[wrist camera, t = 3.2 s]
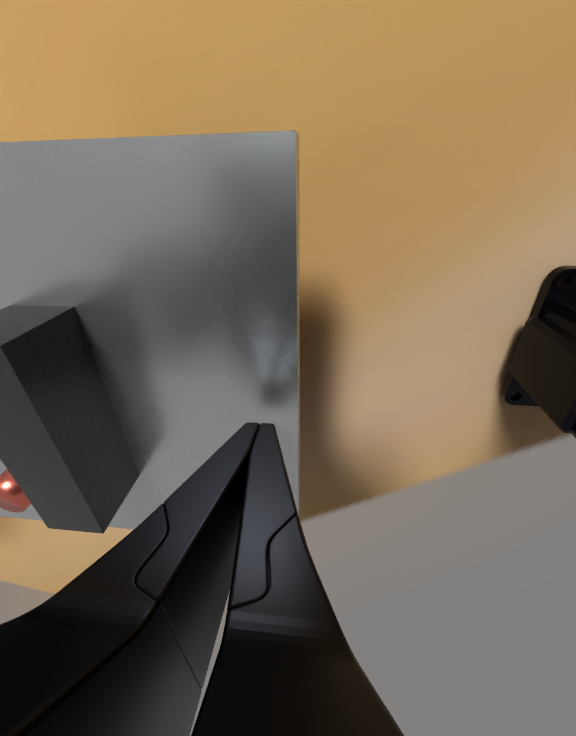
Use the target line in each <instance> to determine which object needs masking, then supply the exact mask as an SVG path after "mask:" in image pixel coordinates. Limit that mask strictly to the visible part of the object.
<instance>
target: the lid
mask: <svg viewBox="0 0 576 736" xmlns="http://www.w3.org/2000/svg"><path fill="white" fill-rule="evenodd" d="M247 422H254V423H259V424H261V423H272V424H274V425H275V428H276V432H277V436H278V440H279V443H280V447H281V451H282V455H283V459H284V462H285V466H286V470H287V474H288V477H289V481H290V485H291V489H292V493H293V496H294V500H295V504H296V508H297V512H298V516H299V519H300V294H299V134H298V133H297V132H296V131H274V132H249V133H224V134H198V135H173V136H148V137H123V138H97V139H72V140H47V141H22V142H0V516H1V517H11V518H22V519H32V520H43V521H44V523H45V524H46V526H47V527H48V528H53V529H63V530H73V531H83V532H93V533H104V532H105V530H106V529H107V527H116V528H127V529H135V528H136V527H137V526H139V525H140V524H141V523H142V522H143V521H144V520H145V519H146V518H147V517H148V516H149V515H150V514H152V513H153V512H154V511H155V510H156V509H157V508H158V507H159V506H160V505H161V504H164V501H165V500H166V499H167V498H168V497H169V496H170V495H171V494H172V493H173V492H174V491H176V490H177V489H178V488H179V487H180V486H181V485H182V484H183V483H184V482H185V481H186V480H187V479H188V478H189V477H190V476H191V475H192V474H193V473H194V472H195V471H196V470H197V469H198V468H199V467H200V466H201V465H202V464H203V463H205V462H206V461H207V460H208V459H209V458H210V457H211V456H212V455H213V454H214V453H215V452H216V451H217V450H218V449H219V448H220V447H221V446H222V445H223V444H224V443H225V442H226V441H227V440H228V439H229V438H230V437H231V436H233V435H234V434H235V433H236V432H237V431H238V430H239V429H240V428H241V427H242V426H243V425H244V424H245V423H247Z"/></svg>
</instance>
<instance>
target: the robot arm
mask: <svg viewBox="0 0 576 736" xmlns="http://www.w3.org/2000/svg"><path fill="white" fill-rule="evenodd" d="M566 275H567V279H566V280H565V282H564V283H562V284H560V285H558V282H559V280H560V279H561V278H562V277H564V276H566ZM508 371H509V373H508V376H507V378H506V381H505V383H504V386H503V388H502V391H501V396H502V398H503V399H504V400H505V402H507V403H508V404H511V405H527V406H540V408H541V409H542V410H543V411H544V412H545V413H546V414H547V415H548V416H549V418H550V419H551V420H552V421H553V422H554V423H555V424H556V425H557V427H558V428H559V429H560V430H561V431H563V432H564V433H572V434H573V436H574V437H575V438H576V266H561V267H558V268H556V269H554V270H553V271H552V272H550V273H549V275H548V276H547V278H546V280H545V282H544V285H543V287H542V290H541V292H540V295H539V297H538V300H537V303H536V305H535V308H534V310H533V313H532V315H531V318H530V319H529V320H528V321H527V322H526V324H525V327H524V329H523V332H522V334H521V337H520V339H519V342H518V345H517V347H516V350H515V352H514V355H513V357H512V360H511V362H510V365H509V367H508ZM515 392H517V394H515V395H513V396H511V395H512V394H513V393H515ZM229 590H230V594H229ZM228 594H229V601H228V608H227V611H228V612H227V615H226V621H225V627H224V632H223V637H222V642H221V646H220V649H219V652H218V655H217V658H216V661H215V665H214V668H213V671H212V674H211V677H210V680H209V683H208V686H207V689H206V693H205V695H204V698H203V701H202V705H201V707H200V710H199V714H198V717H197V720H196V723H195V726H194V729H193V732H192V735H191V736H404V735H403V733H402V731H401V730H400V728H399V727H398V725H397V724H396V722H395V720H394V719H393V717H392V716H391V714H390V713H389V711H388V709H387V708H386V706H385V705H384V704H383V701H382V700H381V698H380V697H379V695H378V694H377V692H376V691H375V689H374V687H373V686H372V684H371V683H370V681H369V679H368V678H367V676H366V675H365V673H364V671H363V670H362V668H361V667H360V665H359V663H358V662H357V660H356V658H355V657H354V655H353V653H352V651H351V649H350V647H349V645H348V643H347V641H346V638H345V636H344V634H343V632H342V630H341V628H340V625H339V623H338V621H337V618H336V616H335V613H334V611H333V609H332V606H331V604H330V601H329V599H328V597H327V594H326V592H325V590H324V587H323V585H322V582H321V580H320V578H319V575H318V573H317V571H316V568H315V565H314V563H313V560H312V557H311V555H310V552H309V549H308V547H307V543H306V540H305V537H304V534H303V530H302V526H301V523H300V519H299V516H298V512H297V508H296V504H295V500H294V496H293V493H292V489H291V485H290V481H289V477H288V474H287V470H286V466H285V462H284V459H283V455H282V451H281V447H280V443H279V440H278V436H277V432H276V428H275V425H274V424H272V423H261V424H259V423H254V422H247V423H245V424H244V425H243V426H242V427H241V428H240V429H239V430H238V431H237V432H236V433H235V434H234V435H233V436H231V437H230V438H229V439H228V440H227V441H226V442H225V443H224V444H223V445H222V446H221V447H220V448H219V449H218V450H217V451H216V452H215V453H214V454H213V455H212V456H211V457H210V458H209V459H208V460H207V461H206V462H205V463H203V464H202V465H201V466H200V467H199V468H198V469H197V470H196V471H195V472H194V473H193V474H192V475H191V476H190V477H189V478H188V479H187V480H186V481H185V482H184V483H183V484H182V485H181V486H180V487H179V488H178V489H177V490H176V491H174V492H173V493H172V494H171V495H170V496H169V497H168V498H167V499H166V500H165V501H164V504H161V505H160V506H159V507H158V508H157V509H156V510H155V511H154V512H153V513H152V514H150V515H149V516H148V517H147V518H146V519H145V520H144V521H143V522H142V523H141V524H140V525H139V526H137V527H136V528H135V529H134V530H133V531H132V532H131V533H130V534H128V535H127V536H126V537H125V538H124V539H122V540H121V541H120V542H119V543H118V544H117V545H115V546H114V547H113V548H112V549H111V550H109V551H108V552H107V553H106V554H104V555H103V556H102V557H101V558H100V559H98V560H97V561H96V562H95V563H93V564H92V565H91V566H90V567H88V568H87V569H86V570H85V571H84V572H82V573H81V574H80V575H79V576H77V577H76V578H75V579H74V580H72V581H71V582H70V583H69V584H68V585H66V586H65V587H64V588H63V589H61V590H60V591H59V592H58V593H56V594H55V595H54V596H52V597H51V598H50V599H48V600H47V601H45V602H44V603H42V604H41V605H39V606H38V607H36V608H34V609H33V610H31V611H29V612H27V613H25V614H23V615H21V616H19V617H17V618H15V619H12V620H10V621H8V622H5V623H3V624H0V736H189V735H190V731H191V727H192V724H193V721H194V717H195V713H196V710H197V706H198V702H199V699H200V695H201V692H202V691H201V688H202V687H203V684H204V681H205V677H206V673H207V670H208V666H209V662H210V659H211V655H212V651H213V648H214V644H215V641H216V637H217V634H218V630H219V626H220V623H221V619H222V615H223V612H224V608H225V605H226V601H227V597H228Z"/></svg>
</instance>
